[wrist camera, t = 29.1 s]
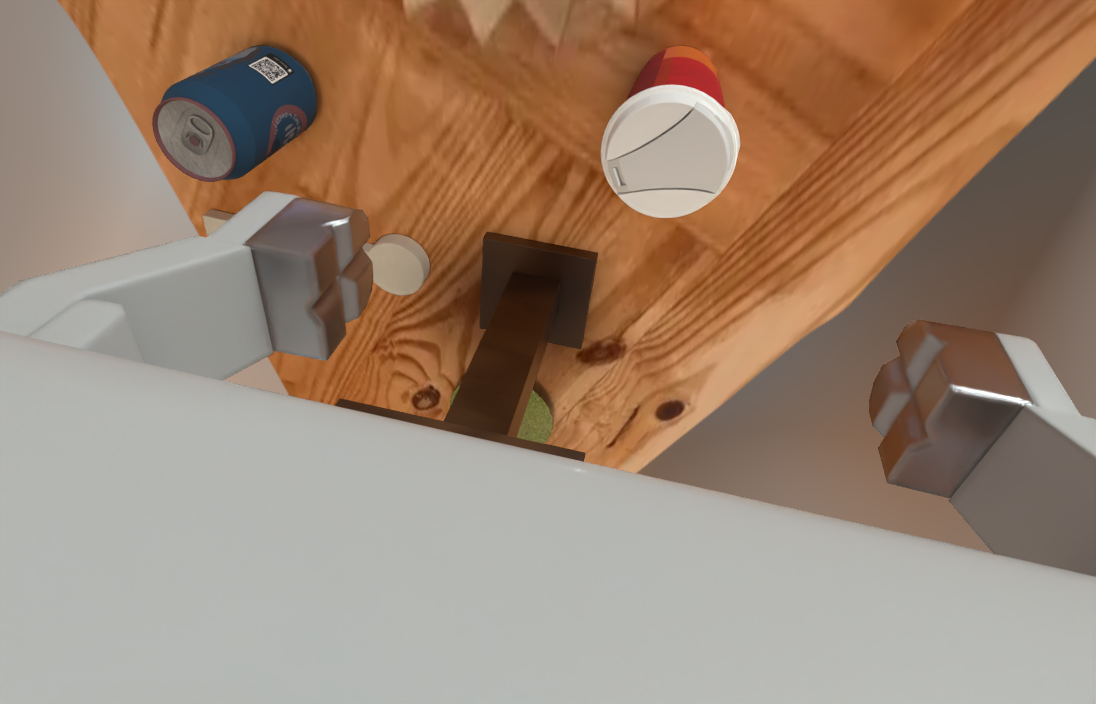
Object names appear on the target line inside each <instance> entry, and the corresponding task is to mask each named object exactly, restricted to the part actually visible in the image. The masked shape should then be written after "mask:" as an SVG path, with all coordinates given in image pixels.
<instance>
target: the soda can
mask: <svg viewBox="0 0 1096 704" xmlns="http://www.w3.org/2000/svg"><path fill="white" fill-rule="evenodd" d="M316 108H317V100H316V92H315V87H314V84H313V82H312V79H311V77H310V75H309V74H308V72H307V71H306V69H305V68H304V67H303V66H302V65H301V64H300V63H299V62H298V61H297V60H296V59H294V58H293V57H291V56H290V55H288V54H287V53H285V52H283V51H281V50H279V49H276V48H273V47H269V46H254V47H250V48H248V49H246V50H244V51H242V52H240V53H238V54H236V55H233V56H231V57H229V58H227V59H225V60H223V61H221V62H219V63H217V64H215V65H213V66H211V67H209V68H207V69H204V70H202V71H200V72H198V73H196V74H194V75H192V76H190V77H188V78H186V79H184V80H182V81H180V82H178V83H176V84H174V85H172V86H171V87H170V88H169V89H168V90H167V91H166V92H165V94H164V96H163V98H162V101H161V103H160V104H159V105H158V106H157V108H156V110H155V112H154V115H153V131H154V135H155V138H156V141H157V143H158V145H159V147H160V148H161V150H162V152H163V153H164V154H165V156H166V157H167V158H168V159H169V161H170V162H171V163H172V164H173V165H174V166H176V167H177V168H178V169H179V170H181V171H182V172H183V173H185V174H187V175H188V176H190V177H192V178H195V179H198V180H201V181H206V182H215V181H219V180H231V179H237V178H240V177H242V176H244V175H245V174H247V173H248V172H249V171H251V170H252V169H253V168H255V167H256V166H257V165H259V164H260V163H262V162H263V161H264V160H266V159H267V158H268V157H270V156H271V155H272V154H274V153H275V152H276V151H278V150H279V149H281V148H282V147H283V146H285V145H286V144H287V143H289V142H290V141H291V140H293V139H294V138H295V137H297V136H298V135H300V134H301V133H302V132H304V131H305V130H306V129H307V128H308V127H309V126H310V125H311V124H312V122H313V120H314V117H315V114H316Z"/></svg>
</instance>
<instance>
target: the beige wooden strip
mask: <svg viewBox="0 0 1096 704" xmlns="http://www.w3.org/2000/svg"><path fill="white" fill-rule="evenodd" d="M234 215H235V214H231V213H227V212H222V211H217V210H213V209H210V210H209V211H208V212H206V213H205V214H204V215H203V220H204V224H205V228H206V233H207V236H209V235H210V234H212V233H213V232H214V231H215V230H217V229H218V228H219V227H220V226H222V225H223V224H224V223H225V222H227V221H228V220H229V219H230V218H232V217H233V216H234ZM362 248H363V250H364V251H365V252H366V254H367V255H368V256H369V258H370V259H371V261H372V263H373V281H374V282H375V283H376V284H377V285H378V286H379V287H380V288H382V289H383V290H385V291H387V292H389V293H392V294H395V295H410V294H413V293H415V292H416V291H418V290H419V289H420V287H421V286H422V284H423V283H424V281H425V280H426V278H427V277H428V274H429V271H430V262H429V258H428V256H427V254H426V252H425V251H424V249H423V248H422V247H421V246H420V245H419V244H418V243H417V242H416V241H414V240H413V239H411V238H409V237H407V236H404V235H400V234H389V235H385V236H383V237H381V238H380V239H379V240H378V241H377V242H376V243H375V244H374V245H373V244H369V243H365V244H364V245H363V247H362Z"/></svg>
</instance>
